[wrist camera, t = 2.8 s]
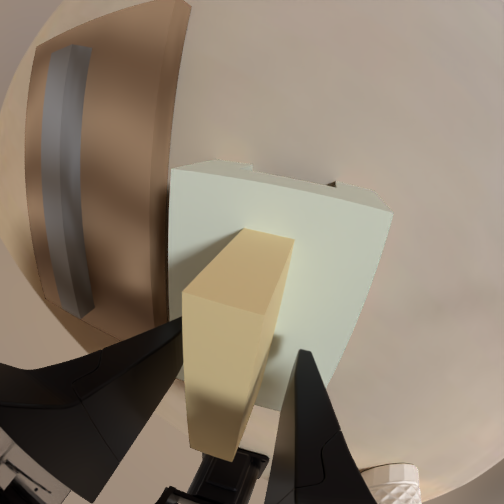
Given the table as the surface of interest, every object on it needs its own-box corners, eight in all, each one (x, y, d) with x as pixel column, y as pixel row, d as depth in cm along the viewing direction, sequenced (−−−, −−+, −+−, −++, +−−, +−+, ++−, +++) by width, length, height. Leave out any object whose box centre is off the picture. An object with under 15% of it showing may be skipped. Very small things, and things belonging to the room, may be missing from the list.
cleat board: (168, 343, 17) (145, 372, 15) (56, 290, 20) (33, 306, 17) (191, 6, 9) (159, -17, 7) (51, 48, 11) (20, 45, 9)
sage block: (318, 363, 15) (294, 489, 8) (204, 332, 16) (134, 434, 9) (373, 190, 11) (440, 275, 4) (217, 159, 12) (78, 194, 5)
